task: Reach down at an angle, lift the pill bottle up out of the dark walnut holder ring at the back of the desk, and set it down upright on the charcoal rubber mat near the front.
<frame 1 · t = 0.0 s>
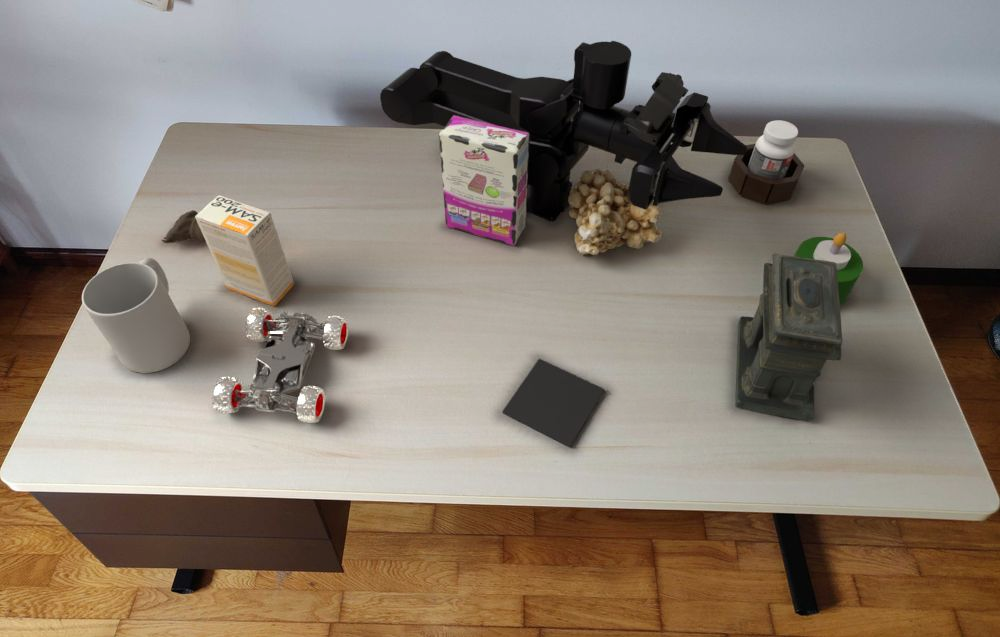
hand: (734, 170, 85), 17 cm above the table, tool horizontal, fingers open, 9 cm apart
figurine: (208, 240, 101), on the table
rubber mat: (553, 402, 83), on the table
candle: (814, 287, 96), on the table
holder ring: (761, 183, 110), on the table
model: (771, 371, 86), on the table
mug: (161, 336, 89), on the table
toy car: (289, 373, 86), on the table
pill bottle: (761, 184, 110), resting in holder ring
mineral formation: (606, 229, 103), on the table, touching arm
candy bar box: (485, 227, 103), on the table
supplement box: (261, 287, 95), on the table
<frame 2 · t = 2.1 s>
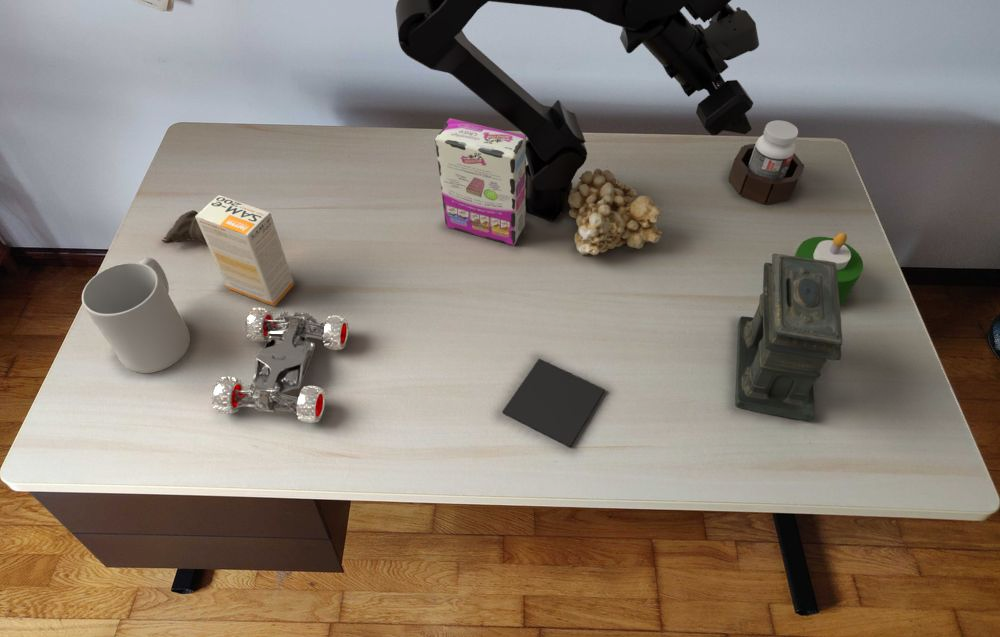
hand: (736, 111, 98), 14 cm above the table, tool tilted 45°, fingers open, 9 cm apart
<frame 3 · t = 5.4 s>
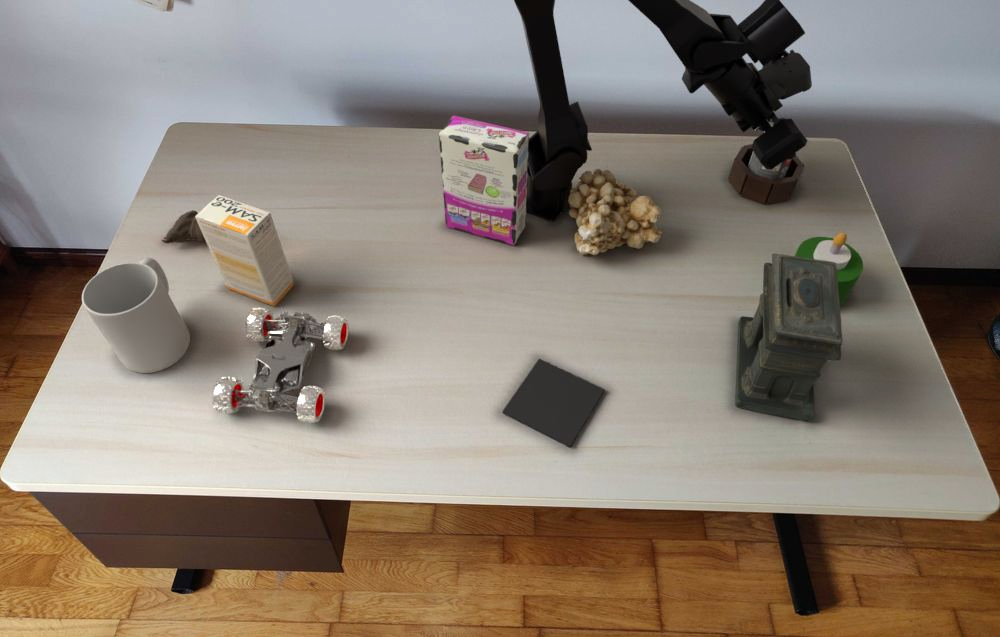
hand: (784, 144, 104), 7 cm above the table, tool tilted 45°, fingers closed on pill bottle, 5 cm apart
pill bottle: (761, 183, 110), resting in holder ring, touching gripper
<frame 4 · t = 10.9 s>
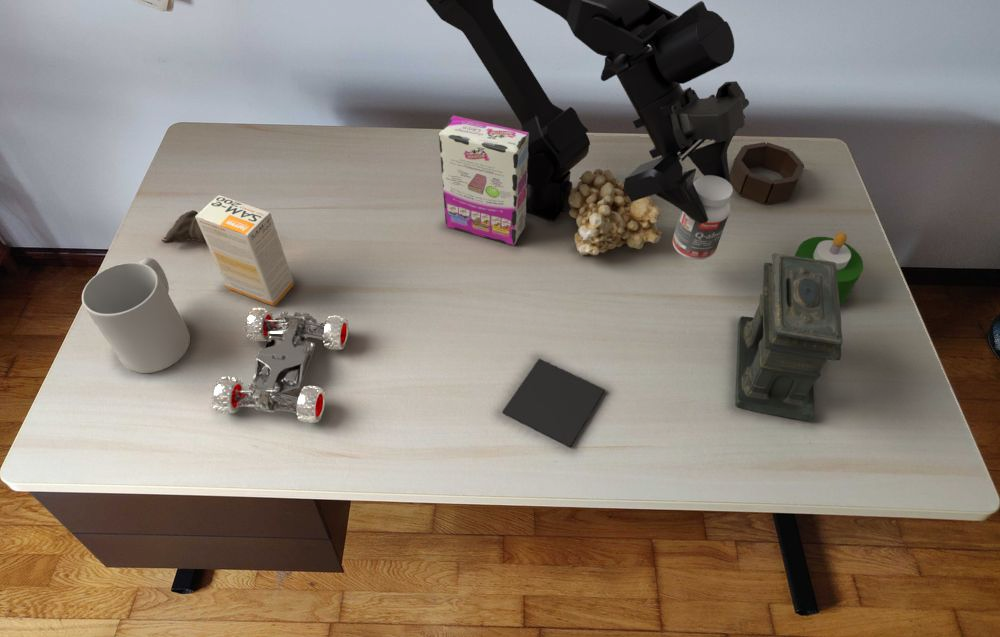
hand: (716, 209, 85), 13 cm above the table, tool tilted 45°, fingers closed on pill bottle, 5 cm apart
pill bottle: (693, 247, 92), point 6 cm above the table, touching gripper
mineral formation: (606, 229, 103), on the table
everything else where it was.
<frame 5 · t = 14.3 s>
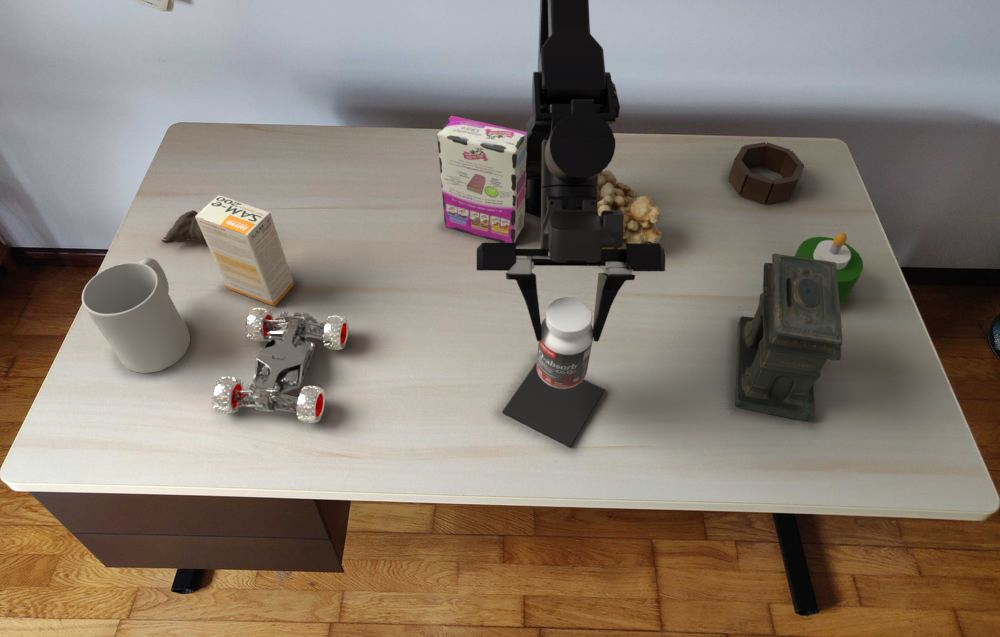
hand: (567, 341, 72), 13 cm above the table, tool tilted 45°, fingers closed on pill bottle, 5 cm apart
pill bottle: (561, 370, 79), point 6 cm above the table, touching gripper
candy bar box: (484, 226, 103), on the table, touching arm
everything else where it was.
when the fingers open (8 cm above the table, at t = 16.8 s): pill bottle stays where it is, resting on rubber mat.
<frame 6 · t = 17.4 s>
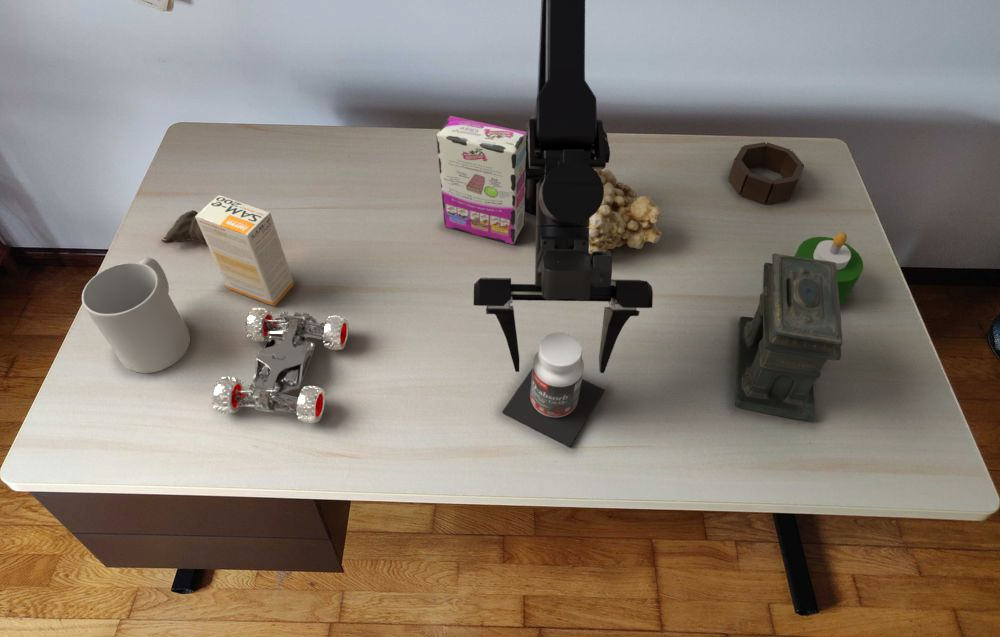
hand: (559, 372, 76), 8 cm above the table, tool tilted 45°, fingers open, 9 cm apart
pill bottle: (554, 399, 83), resting on rubber mat
everything else where it was.
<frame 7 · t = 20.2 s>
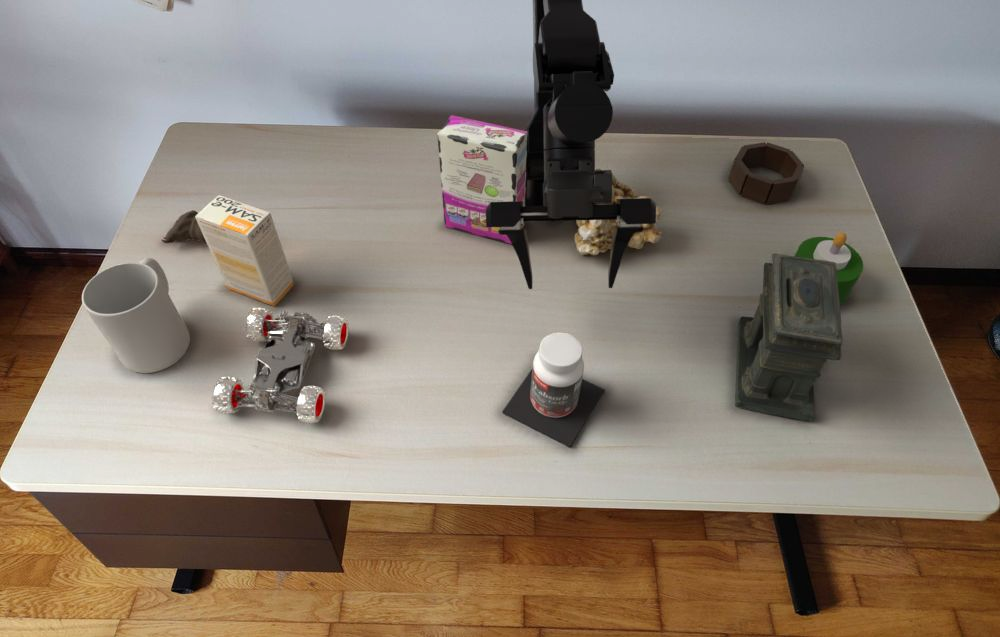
hand: (570, 288, 81), 11 cm above the table, tool tilted 40°, fingers open, 9 cm apart
candy bar box: (484, 226, 103), on the table
everything else where it was.
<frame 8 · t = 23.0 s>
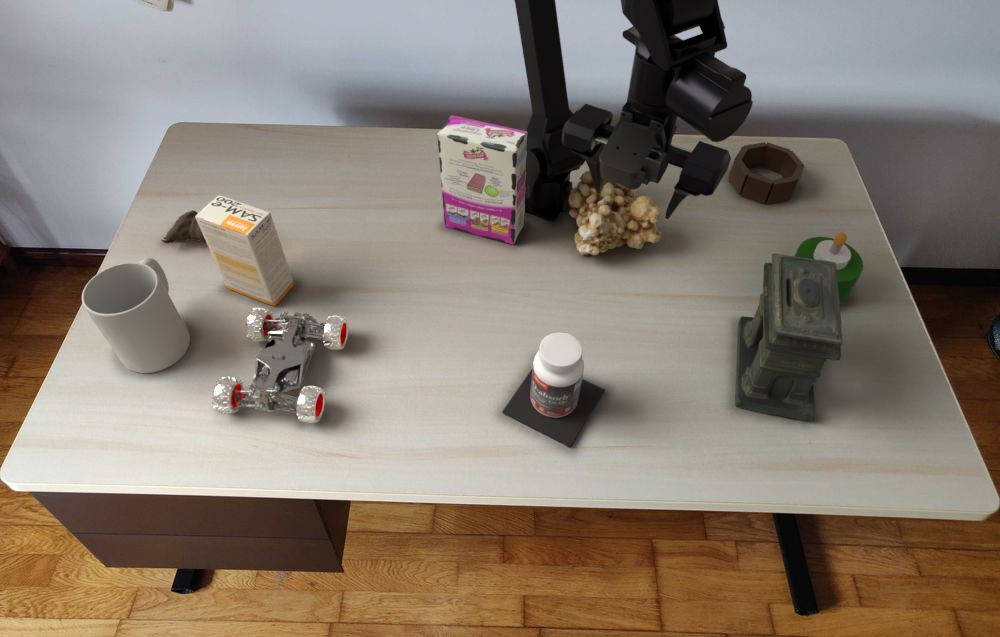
hand: (633, 204, 86), 13 cm above the table, tool pointing down, fingers open, 9 cm apart
nothing on the table moved.
at the end: pill bottle inside the target area on the rubber mat (0.1 cm from its centre), point 0.3 cm above the rubber mat's base; pill bottle tilted 0°; pill bottle touching rubber mat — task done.
